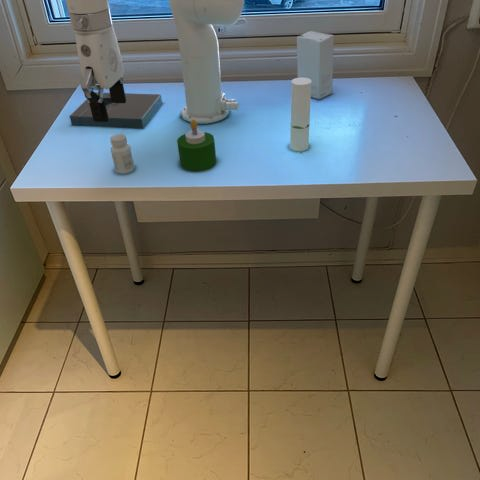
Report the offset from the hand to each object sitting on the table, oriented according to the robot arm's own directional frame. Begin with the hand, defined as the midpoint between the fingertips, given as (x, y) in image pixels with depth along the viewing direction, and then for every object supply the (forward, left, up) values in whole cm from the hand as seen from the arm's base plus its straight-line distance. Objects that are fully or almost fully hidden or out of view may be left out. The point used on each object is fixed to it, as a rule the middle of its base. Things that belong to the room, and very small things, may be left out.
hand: (110, 111), depth 109 cm
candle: (-16, -5, -14) cm, 22 cm away
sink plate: (+13, -29, -14) cm, 35 cm away
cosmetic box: (-38, -47, -14) cm, 62 cm away
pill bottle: (0, 0, -14) cm, 14 cm away
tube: (-38, -15, -14) cm, 43 cm away
